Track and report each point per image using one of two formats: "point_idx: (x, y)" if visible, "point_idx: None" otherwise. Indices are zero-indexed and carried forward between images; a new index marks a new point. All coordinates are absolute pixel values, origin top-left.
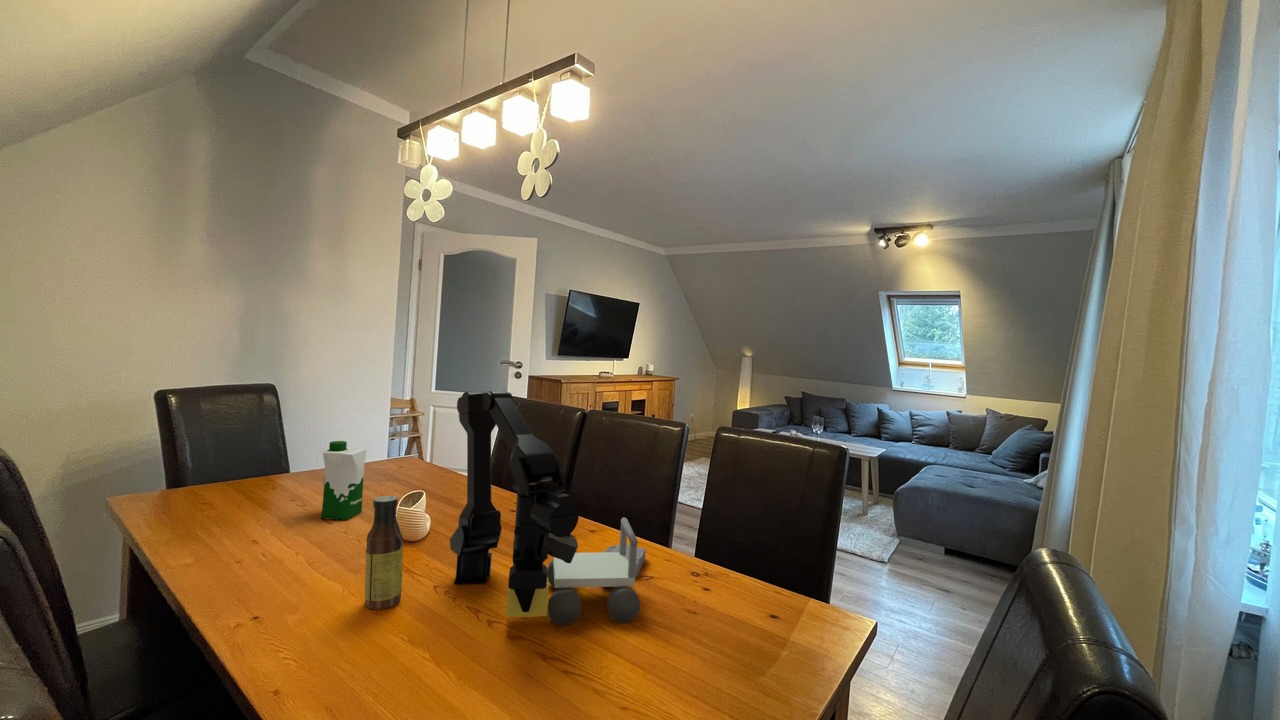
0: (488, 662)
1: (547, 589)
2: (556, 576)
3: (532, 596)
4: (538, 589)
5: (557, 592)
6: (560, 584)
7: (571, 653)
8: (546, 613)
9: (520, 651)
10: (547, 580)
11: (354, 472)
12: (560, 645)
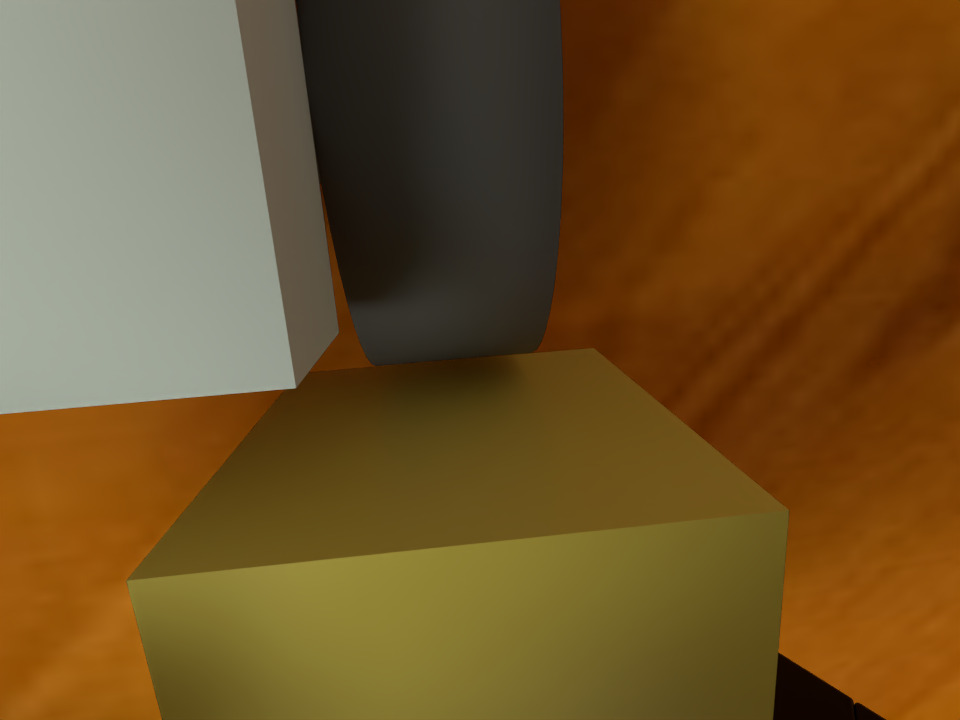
0: (920, 649)
1: (771, 515)
2: (91, 355)
3: (858, 712)
4: (761, 692)
5: (455, 256)
6: (307, 203)
7: (943, 67)
8: (604, 358)
9: (839, 480)
10: (350, 573)
11: None
12: (811, 172)
